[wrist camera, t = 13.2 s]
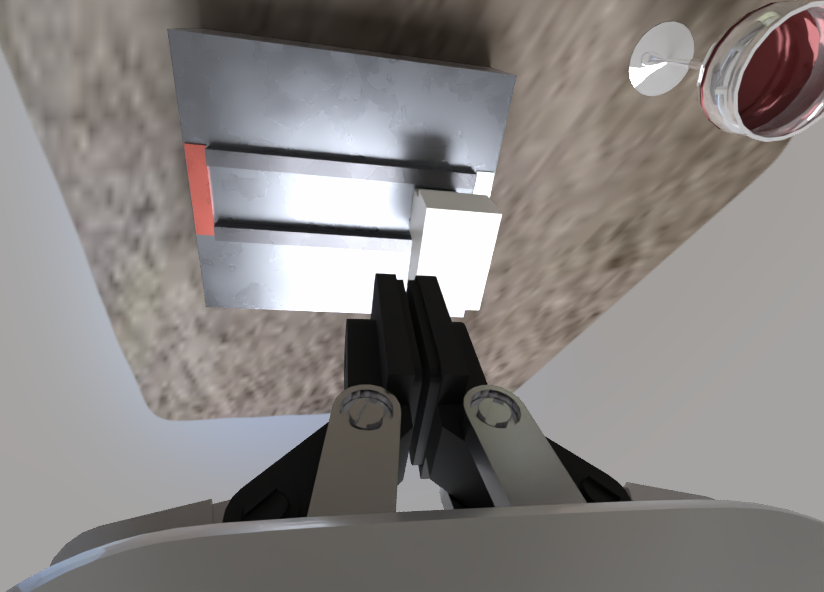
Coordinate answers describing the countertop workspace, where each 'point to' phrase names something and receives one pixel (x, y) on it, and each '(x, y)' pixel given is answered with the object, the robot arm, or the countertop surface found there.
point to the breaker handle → (453, 243)
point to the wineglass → (745, 69)
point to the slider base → (322, 161)
